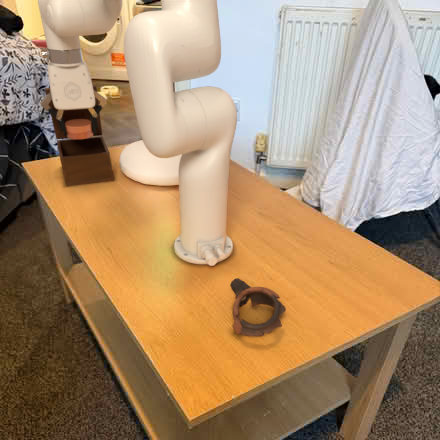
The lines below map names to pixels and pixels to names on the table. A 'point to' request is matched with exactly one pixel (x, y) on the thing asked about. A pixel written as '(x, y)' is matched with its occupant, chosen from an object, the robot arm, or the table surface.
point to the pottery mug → (257, 297)
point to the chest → (85, 161)
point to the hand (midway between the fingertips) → (79, 132)
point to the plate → (149, 166)
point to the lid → (74, 117)
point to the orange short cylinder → (79, 129)
